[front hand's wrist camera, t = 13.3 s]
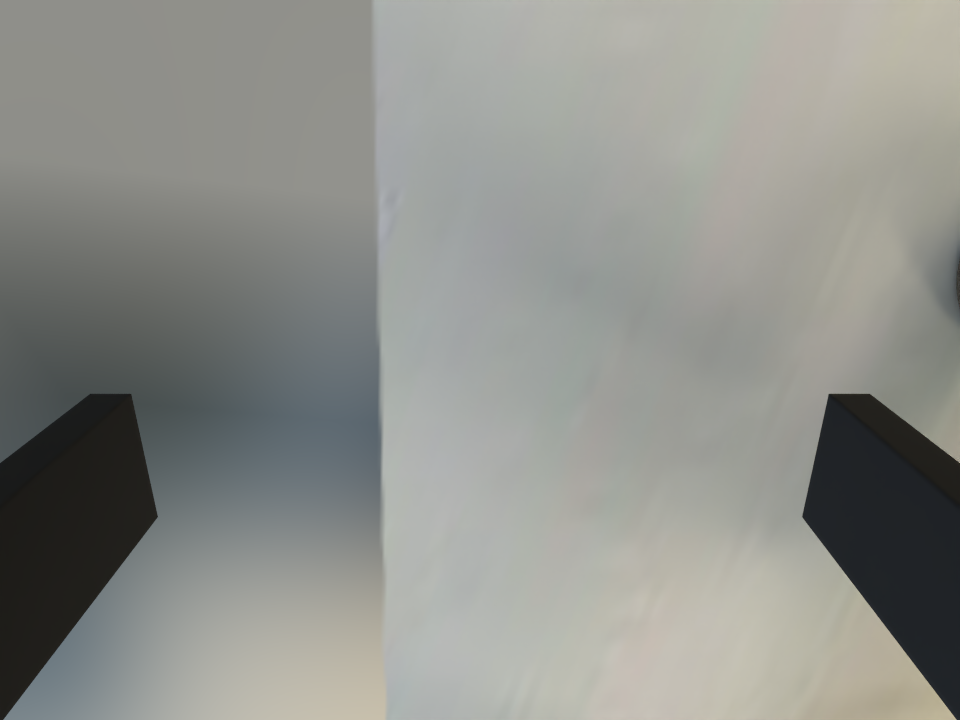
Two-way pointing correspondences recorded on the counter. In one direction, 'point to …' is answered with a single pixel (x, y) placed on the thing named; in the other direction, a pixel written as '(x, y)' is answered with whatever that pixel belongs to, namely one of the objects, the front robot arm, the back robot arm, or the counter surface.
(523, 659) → the counter surface
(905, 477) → the front robot arm
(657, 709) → the counter surface
